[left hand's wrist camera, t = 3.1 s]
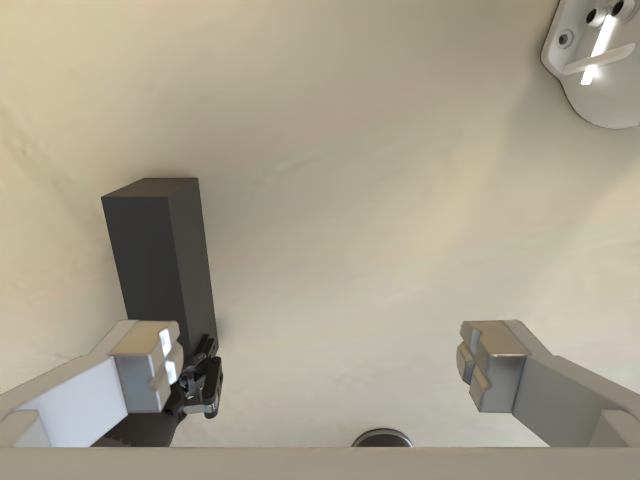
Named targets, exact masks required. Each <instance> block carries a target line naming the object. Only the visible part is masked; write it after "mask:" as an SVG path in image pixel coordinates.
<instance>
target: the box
mask: <svg viewBox="0 0 640 480" xmlns="http://www.w3.org/2000/svg"><path fill="white" fill-rule="evenodd" d="M101 200H102V205H103V209H104V214H105V218H106V222H107V227H108V231H109V236H110V240H111V245H112V249H113V254H114V258H115V263H116V267H117V271H118V276H119V280H120V285H121V289H122V294H123V298H124V303H125V307H126V312H127V316H128V320H169V321H176V322H177V323H178V326H179V330H180V335H179V336H178V338H177V340H176V341H177V342H178V343H179V344H180V345H181V346H182V348H183V363H184V364H185V363H186V362H187V361H189V360H190V359H191V358H192V357H194V356H195V351H196V349H197V347H198V345H199V343H200V341H201V339H202V337H203V335H204V334H211V338H214V343H215V353H214V356H213V357H215V355H216V353H217V350H218V348H219V346H218V338H217V330H216V322H215V314H214V306H213V298H212V289H211V281H210V273H209V265H208V257H207V249H206V241H205V232H204V224H203V216H202V208H201V200H200V192H199V184H198V178H144V179H141V180H139V181H137V182H134V183H132V184H130V185H127V186H125V187H123V188H120V189H118V190H116V191H114V192H111V193H109V194H107V195H104V196H102V197H101ZM195 371H196V369H195V370H194V372H195ZM194 372H193V373H194ZM205 378H206V377H205ZM205 378H204V379H203V380H202V381H201V382H200V383H199V384H198V385H197V386H196V387H195V391H194V392H193V393H192V394H191V395H190V396H195V394H196V392H197V391H199V387H200V386H203V384H204V382H205ZM178 381H179V383H180V379H179V380H178ZM180 385H181V384H180Z"/></svg>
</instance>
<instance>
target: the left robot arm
mask: <svg viewBox="0 0 640 480" xmlns="http://www.w3.org/2000/svg"><path fill="white" fill-rule="evenodd" d="M560 36H562V37H563V42H562V44H560V43H559V38H560ZM541 61H542V63H543V65H544V66H545V67H546V68H547V69H548V70H549V71H550V72H551V73H552V74H553V75H555V76H556V77H557V78H558V79H559V80H560V82H561V83H562V85H563V88H564V90H565V93H566V96H567V98H568V100H569V102H570V104H571V105H572V107H573V108H574V110H575V111H576V112H577V113H578V114H579V115H580V116H581V117H582V118H584V119H585V120H587V121H588V122H590V123H592V124H594V125H597V126H600V127H604V128H612V129H620V128H628V127H633V126H637V125H640V0H560V3H559V6H558V8H557V11H556V14H555V16H554V19H553V22H552V25H551V27H550V30H549V33H548V35H547V38H546V41H545V43H544V46H543V49H542V52H541ZM179 335H180V330H179V326H178V323H177V322H176V321H169V320H122V321H119V322H118V323H117V324H116V325H115V326H114V327H113V328H112V329H111V330H110V331H109V332H108V334H107V335H106V336H105V337H104V338H103V339H102V340H101V341H100V342H99V343H98V344H97V345H96V346H95V348H94V349H93V350H92V351H91V352H90V353H89V354H88V355H87V356H79V357H77V358H75V359H73V360H71V361H69V362H67V363H65V364H63V365H61V366H59V367H57V368H55V369H53V370H50V371H48V372H46V373H44V374H42V375H40V376H38V377H36V378H34V379H32V380H30V381H28V382H26V383H23V384H21V385H19V386H17V387H15V388H13V389H11V390H9V391H7V392H5V393H3V394H1V395H0V480H640V395H639V394H637V393H635V392H633V391H631V390H629V389H627V388H625V387H623V386H620V385H618V384H616V383H614V382H612V381H610V380H608V379H606V378H604V377H602V376H600V375H598V374H596V373H594V372H592V371H589V370H587V369H585V368H583V367H581V366H579V365H577V364H575V363H573V362H571V361H569V360H567V359H565V358H563V357H561V356H553V355H552V354H551V353H550V352H549V351H548V350H547V349H546V348H545V346H544V345H543V344H542V343H541V342H540V341H539V340H538V339H537V338H536V337H535V336H534V335H533V334H532V332H531V331H530V330H529V329H528V328H527V327H526V326H525V325H524V324H523V323H522V322H521V321H519V320H497V321H463V323H462V325H461V330H460V335H461V336H462V338H463V340H464V341H463V342H462V343H461V344H460V345H459V346H458V348H457V356H456V358H457V367H458V371H459V374H460V376H461V378H462V380H463V381H464V382H466V383H467V384H468V385H470V390H469V394H470V396H471V398H472V399H473V401H474V403H475V405H476V407H477V409H478V411H479V412H486V413H512V415H513V416H514V417H515V418H517V419H518V420H519V421H520V422H521V423H523V424H524V425H525V426H526V427H527V428H529V429H530V430H531V431H532V432H534V433H535V434H536V435H537V436H538V437H540V438H541V439H542V440H543V441H544V442H546V443H547V444H548V445H549V446H551V447H90V446H91V445H92V444H93V443H94V442H96V441H97V440H98V439H99V438H100V437H102V436H103V435H104V434H105V433H107V432H108V431H109V430H110V429H111V428H113V427H114V426H115V425H116V424H118V423H119V422H120V421H121V420H122V419H124V418H125V417H126V416H127V415H128V413H153V412H161V411H162V409H163V407H164V405H165V403H166V401H167V399H168V397H169V396H170V394H171V390H170V385H172V384H173V383H174V382H176V381H177V380H178V378H179V376H180V374H181V371H182V366H183V348H182V346H181V345H180V344H179V343H178V342H177V341H176V340H177V338H178V336H179Z"/></svg>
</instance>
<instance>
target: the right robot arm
mask: <svg viewBox="0 0 640 480" xmlns="http://www.w3.org/2000/svg"><path fill="white" fill-rule="evenodd" d="M214 353H215V343H214V338H211V334H204V335H203V337H202V339H201V341H200V343H199V345H198V347H197V349H196V351H195V356H194V357H192V358H191V359H190V360H189V361H187V362H186V363H185V364H184V363H183V366H182V371H181V374H180V376H179V378H178V380H179V379H180V383H179V381H178V380H177V381H176V382H174V383H173V384H172V385H170V390H171V394H170V396H169V397H168V399H167V401H166V403H165V405H164V407H163V409H162V411H161V412H153V413H128V415H127V416H126V417H125V418H124V419H122V420H121V421H120V422H119V423H118V424H116V425H115V426H114V427H113V428H111V429H110V430H109V431H108V432H107V433H105V434H104V435H103V436H102V437H100V438H99V439H98V440H97V441H96V442H94V443H93V444H92V445H91V446H90V447H169V446H170V444H171V441H172V439H173V436H174V433H175V429H176V427H177V426H178V424H179V423H180V422H181V421H182V420H183V419H184V418H185V417H186V416H187V414H192V413H201V412H204V415H205V417H206V418H208V419H211V418H214V417H215V416H216V415H217V413H218V407H219V401H220V395H221V388H222V382H223V373H222V367H221V358H220V357H218V356H215V357H213V356H214ZM195 369H196V371H195V372H194V370H195ZM193 372H194V373H193ZM205 377H206V378H205ZM204 378H205V382H204V386H200V387H199V391H197V392H196V394H195V396H194V397H192V398H190V399H187V398H188V397H189V396H190V395H191V394H192V393H193V392H194V391H195V387H196V386H197V385H198V384H199V383H200V382H201V381H202V380H203V379H204ZM180 384H181V385H180ZM353 447H413V446H412V444H411V442H410V440H409V439H408V438H407V437H406V436H405V435H403V434H402V433H400V432H397V431H394V430H388V429H380V430H374V431H371V432H368V433H366V434H364V435H362V436H361V437H360V438H359V439H358V440H357V441H356V442H355V443H354V445H353Z"/></svg>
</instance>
